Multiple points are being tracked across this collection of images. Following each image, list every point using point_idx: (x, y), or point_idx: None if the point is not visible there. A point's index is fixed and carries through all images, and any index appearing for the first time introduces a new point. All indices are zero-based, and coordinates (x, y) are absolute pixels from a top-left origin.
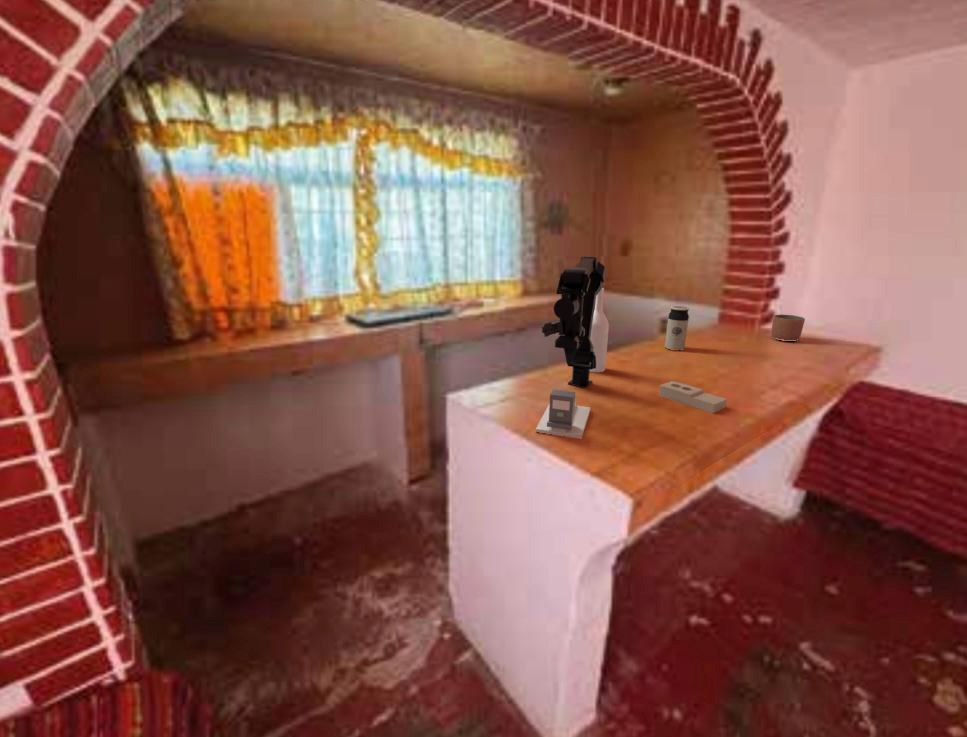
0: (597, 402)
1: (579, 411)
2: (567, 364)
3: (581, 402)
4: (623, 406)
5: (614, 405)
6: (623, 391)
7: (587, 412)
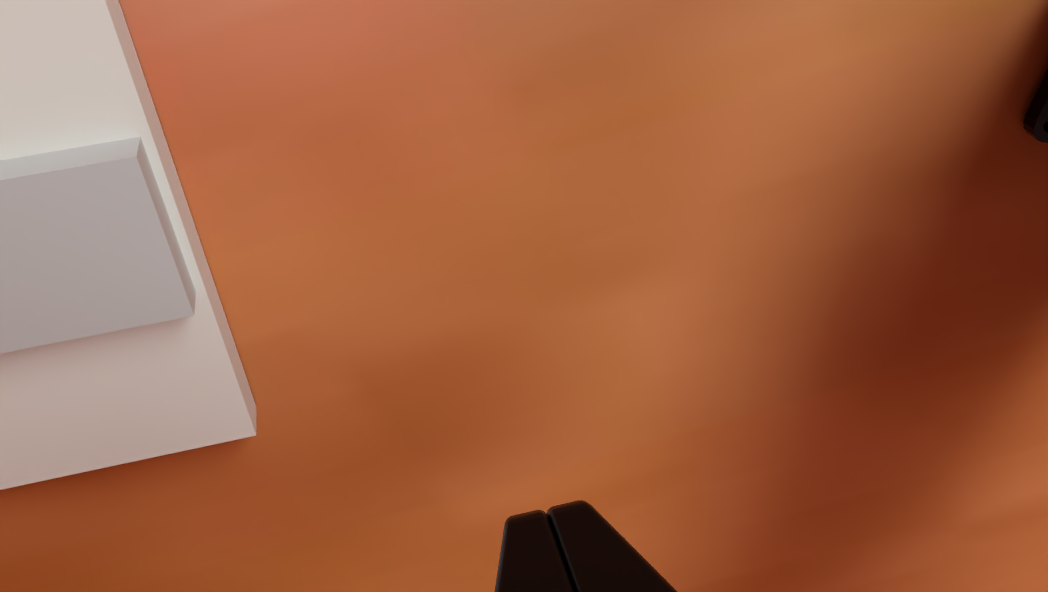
0: (558, 383)
1: (22, 388)
2: (506, 521)
3: (475, 246)
4: None
5: None
6: (961, 465)
7: (64, 462)
